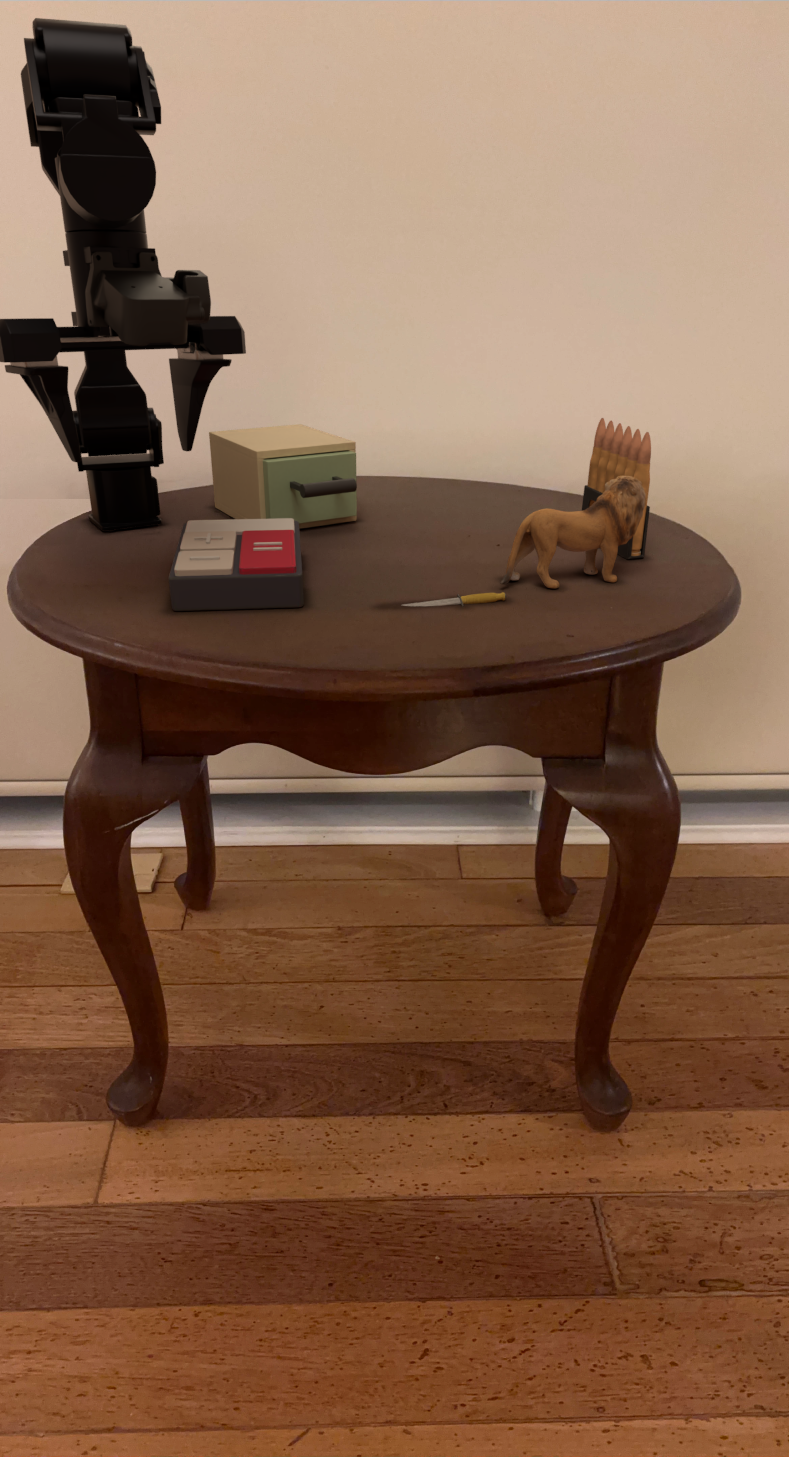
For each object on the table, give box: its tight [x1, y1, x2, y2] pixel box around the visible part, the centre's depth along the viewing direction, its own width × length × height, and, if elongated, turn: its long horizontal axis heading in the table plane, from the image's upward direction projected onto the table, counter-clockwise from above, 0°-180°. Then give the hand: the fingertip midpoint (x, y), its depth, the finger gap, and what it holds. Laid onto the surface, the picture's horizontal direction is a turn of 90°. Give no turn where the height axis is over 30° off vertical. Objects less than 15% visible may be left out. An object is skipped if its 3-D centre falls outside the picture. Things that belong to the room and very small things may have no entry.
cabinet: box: [208, 423, 357, 530], centre depth 105 cm, size 14×12×9 cm
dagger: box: [402, 591, 507, 608], centre depth 79 cm, size 11×1×2 cm
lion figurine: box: [499, 476, 646, 589], centre depth 83 cm, size 15×5×9 cm, turn 116°
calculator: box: [168, 518, 305, 612], centre depth 83 cm, size 11×4×15 cm
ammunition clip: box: [581, 417, 652, 560], centre depth 93 cm, size 11×2×12 cm, turn 17°
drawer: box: [263, 451, 358, 524], centre depth 102 cm, size 17×10×7 cm, turn 31°
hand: (133, 455), depth 74 cm, fingers open, 9 cm apart
